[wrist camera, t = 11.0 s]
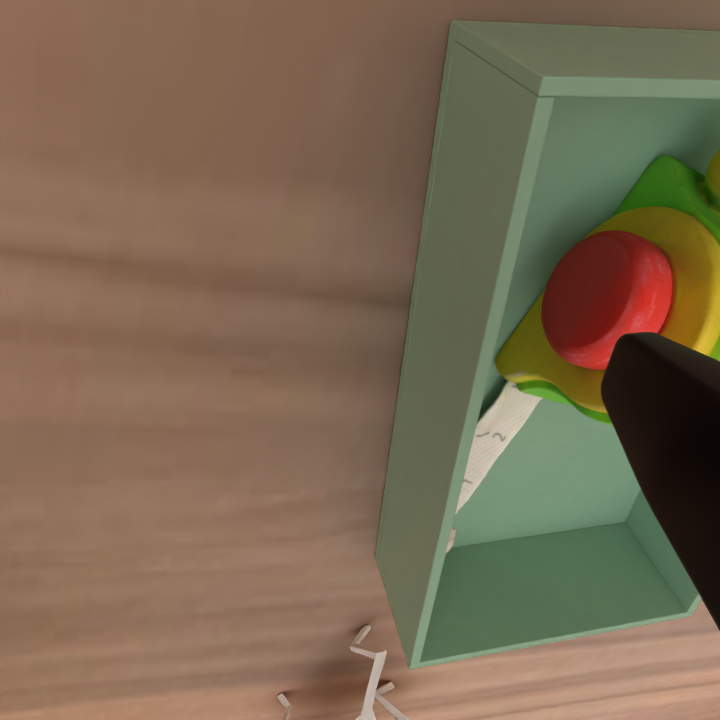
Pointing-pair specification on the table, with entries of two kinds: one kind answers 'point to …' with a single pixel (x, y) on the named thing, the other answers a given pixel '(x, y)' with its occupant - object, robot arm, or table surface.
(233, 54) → the table surface
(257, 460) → the table surface
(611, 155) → the tray
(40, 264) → the table surface
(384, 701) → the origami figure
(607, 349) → the toy measuring tape
